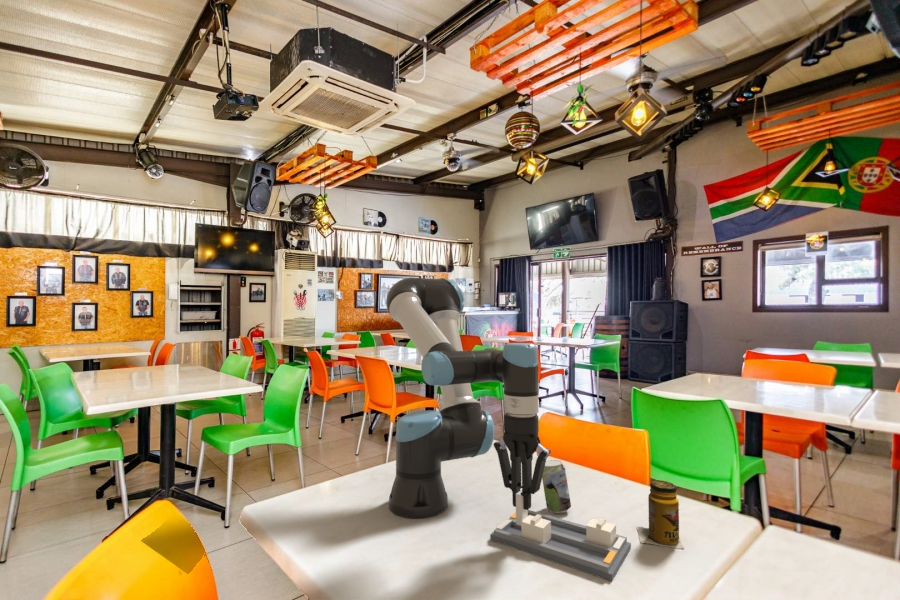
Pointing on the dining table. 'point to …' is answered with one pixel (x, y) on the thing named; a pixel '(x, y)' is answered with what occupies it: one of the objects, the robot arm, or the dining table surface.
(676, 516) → the condiment
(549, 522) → the tab
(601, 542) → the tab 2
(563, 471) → the beverage can
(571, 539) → the switch bank
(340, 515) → the dining table surface
